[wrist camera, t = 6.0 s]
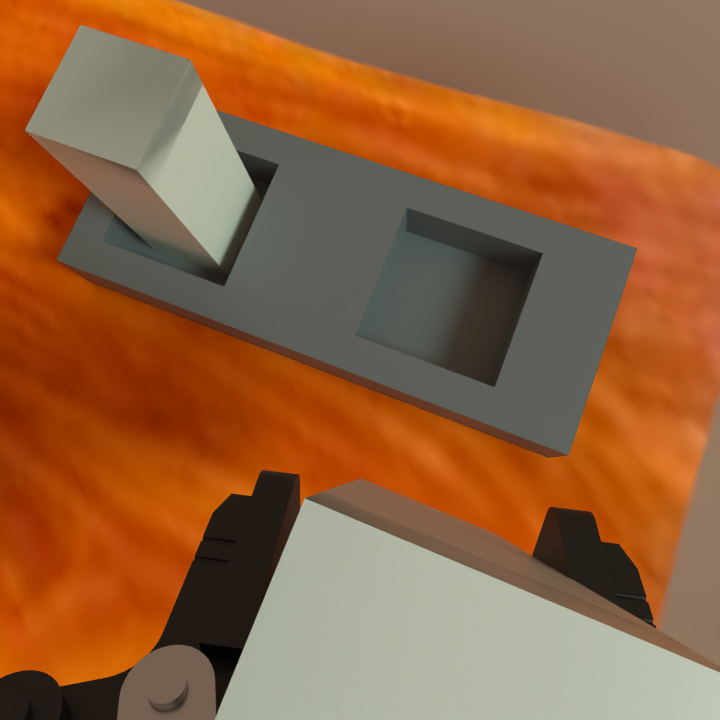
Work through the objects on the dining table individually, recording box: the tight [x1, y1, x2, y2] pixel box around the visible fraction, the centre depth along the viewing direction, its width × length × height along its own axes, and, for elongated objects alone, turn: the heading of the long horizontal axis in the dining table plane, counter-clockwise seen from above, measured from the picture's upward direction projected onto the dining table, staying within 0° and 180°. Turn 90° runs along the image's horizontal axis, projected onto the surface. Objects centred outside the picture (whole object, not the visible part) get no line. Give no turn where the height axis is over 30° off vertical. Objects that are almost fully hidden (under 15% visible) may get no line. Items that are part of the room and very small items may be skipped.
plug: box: [215, 479, 720, 720], centre depth 11 cm, size 4×4×12 cm
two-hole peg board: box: [25, 25, 637, 458], centre depth 23 cm, size 23×9×10 cm, turn 69°
